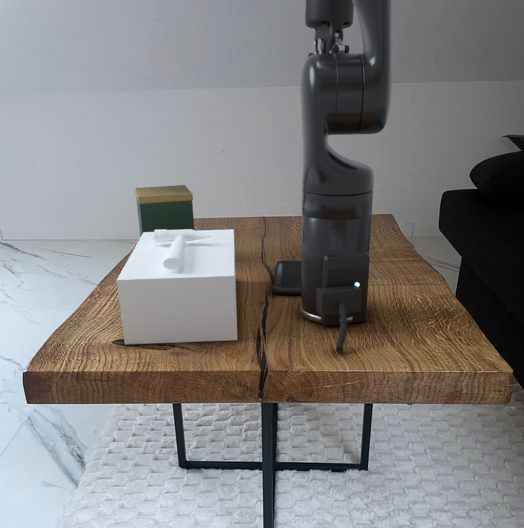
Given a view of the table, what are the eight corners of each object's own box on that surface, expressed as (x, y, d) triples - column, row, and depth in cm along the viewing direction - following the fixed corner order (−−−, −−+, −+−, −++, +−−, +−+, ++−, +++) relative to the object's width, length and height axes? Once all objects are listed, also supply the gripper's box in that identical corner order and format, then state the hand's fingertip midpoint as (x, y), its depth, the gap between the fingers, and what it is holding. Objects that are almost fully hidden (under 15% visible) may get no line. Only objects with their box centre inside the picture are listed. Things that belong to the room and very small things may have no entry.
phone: (272, 287, 93) (277, 260, 106) (272, 294, 93) (277, 266, 107) (323, 288, 92) (322, 260, 106) (323, 295, 93) (322, 266, 106)
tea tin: (197, 266, 109) (192, 193, 103) (145, 271, 106) (138, 196, 101) (190, 253, 117) (185, 184, 111) (141, 257, 115) (134, 188, 109)
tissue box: (235, 280, 100) (233, 215, 96) (237, 340, 78) (233, 257, 73) (148, 283, 100) (142, 217, 95) (124, 344, 77) (114, 261, 73)
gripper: (294, -1, 99) (291, 112, 105) (322, -19, 87) (316, 110, 93) (337, 2, 100) (331, 113, 106) (370, -16, 88) (362, 111, 94)
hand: (325, 112), depth 99 cm, fingers closed
